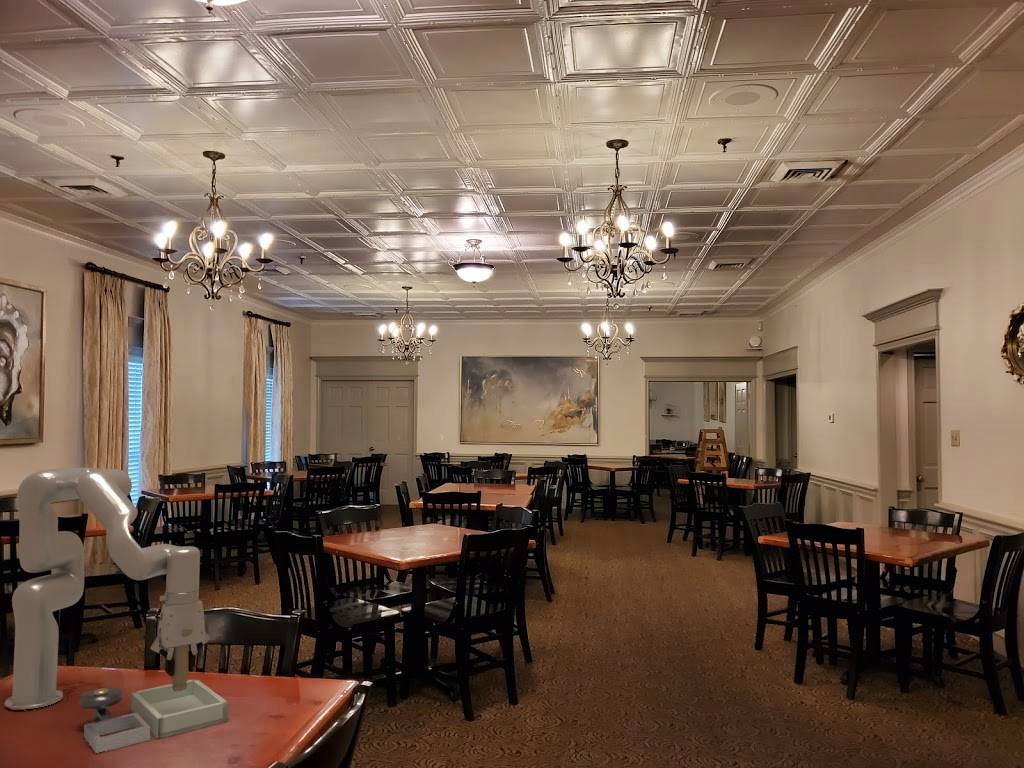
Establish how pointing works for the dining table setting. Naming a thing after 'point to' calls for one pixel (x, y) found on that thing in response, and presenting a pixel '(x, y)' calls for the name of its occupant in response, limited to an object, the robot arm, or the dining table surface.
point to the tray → (179, 708)
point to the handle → (181, 665)
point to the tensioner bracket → (111, 722)
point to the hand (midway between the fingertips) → (179, 671)
